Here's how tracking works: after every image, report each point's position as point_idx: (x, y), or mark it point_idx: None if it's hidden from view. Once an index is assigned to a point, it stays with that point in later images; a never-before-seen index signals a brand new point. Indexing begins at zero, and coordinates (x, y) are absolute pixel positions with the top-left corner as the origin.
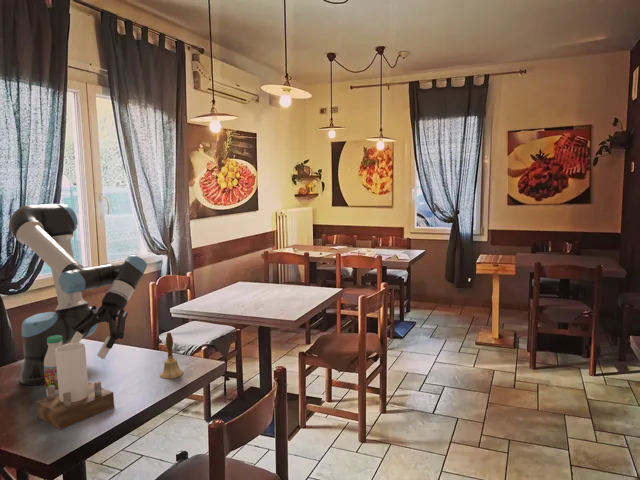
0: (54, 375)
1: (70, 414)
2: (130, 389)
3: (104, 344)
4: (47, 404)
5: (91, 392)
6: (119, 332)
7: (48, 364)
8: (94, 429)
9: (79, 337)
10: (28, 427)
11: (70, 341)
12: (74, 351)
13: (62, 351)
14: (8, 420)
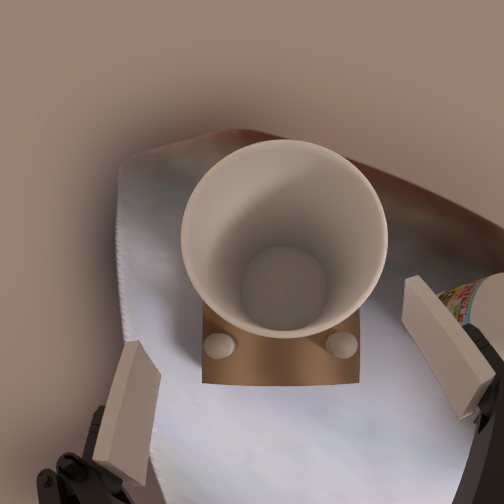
0: (457, 297)
1: None
2: (287, 469)
3: (109, 401)
4: None
5: (267, 342)
6: (39, 490)
7: (491, 277)
8: (147, 271)
9: (452, 385)
10: None
11: (448, 312)
12: (186, 213)
13: (366, 226)
14: (378, 174)
